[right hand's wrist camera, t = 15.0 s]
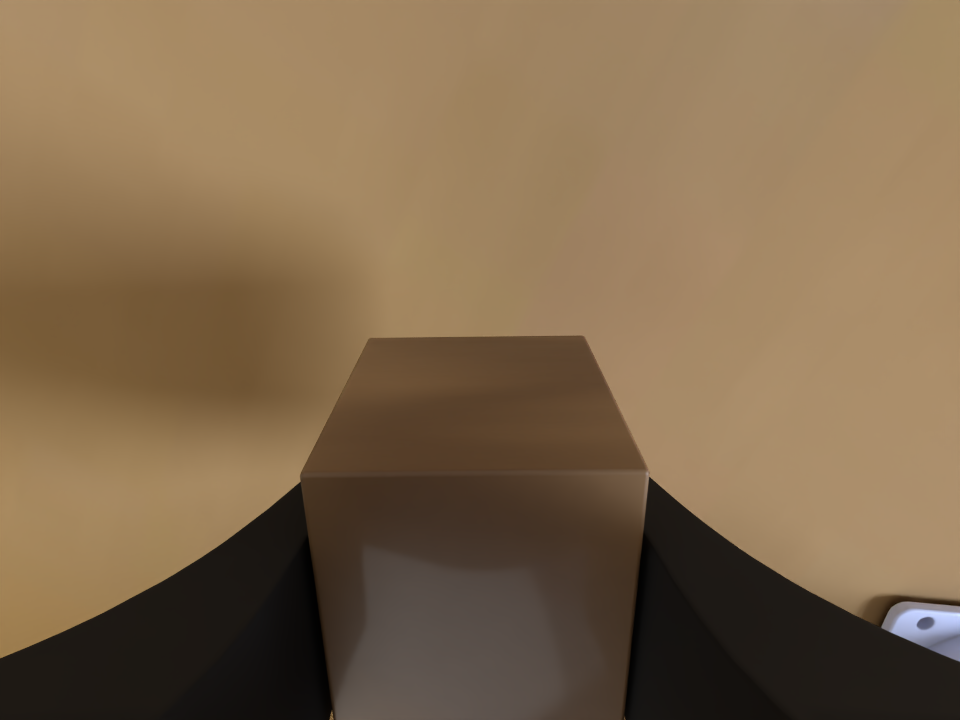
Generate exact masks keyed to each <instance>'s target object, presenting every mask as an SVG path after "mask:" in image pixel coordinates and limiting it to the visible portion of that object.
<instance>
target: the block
mask: <svg viewBox="0 0 960 720" xmlns="http://www.w3.org/2000/svg"><path fill="white" fill-rule="evenodd" d="M300 480H301V487H302V494H303V501H304V509H305V516H306V523H307V530H308V538H309V545H310V552H311V559H312V567H313V574H314V581H315V588H316V596H317V603H318V610H319V617H320V625H321V632H322V639H323V646H324V654H325V661H326V668H327V675H328V683H329V690H330V697H331V704H332V712H333V719H334V720H624V715H625V705H626V696H627V686H628V676H629V666H630V657H631V647H632V637H633V628H634V618H635V608H636V598H637V589H638V579H639V569H640V560H641V550H642V540H643V530H644V521H645V511H646V501H647V492H648V482H649V470H648V467H647V465H646V463H645V461H644V459H643V457H642V455H641V453H640V451H639V449H638V447H637V445H636V442H635V440H634V438H633V436H632V434H631V432H630V430H629V428H628V426H627V424H626V422H625V420H624V418H623V415H622V413H621V411H620V409H619V407H618V405H617V403H616V401H615V399H614V397H613V395H612V393H611V391H610V388H609V386H608V384H607V382H606V380H605V378H604V376H603V374H602V372H601V370H600V368H599V366H598V364H597V361H596V359H595V357H594V355H593V353H592V351H591V349H590V347H589V345H588V343H587V341H586V339H585V337H584V336H513V337H423V338H370V339H369V340H368V342H367V344H366V346H365V348H364V350H363V351H362V353H361V355H360V357H359V359H358V361H357V363H356V365H355V367H354V369H353V371H352V373H351V375H350V377H349V379H348V381H347V383H346V385H345V387H344V389H343V391H342V393H341V395H340V397H339V399H338V401H337V403H336V405H335V407H334V409H333V411H332V413H331V415H330V416H329V418H328V420H327V422H326V424H325V426H324V428H323V430H322V432H321V434H320V436H319V438H318V440H317V442H316V444H315V446H314V448H313V450H312V452H311V454H310V456H309V458H308V460H307V462H306V464H305V466H304V468H303V470H302V472H301V474H300Z"/></svg>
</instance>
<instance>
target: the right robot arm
mask: <svg viewBox="0 0 960 720" xmlns="http://www.w3.org/2000/svg"><path fill="white" fill-rule="evenodd" d="M331 711H332V704H331V697H330V690H329V683H328V675H327V668H326V661H325V654H324V646H323V639H322V632H321V625H320V617H319V610H318V603H317V596H316V588H315V581H314V574H313V567H312V559H311V552H310V545H309V538H308V530H307V523H306V516H305V509H304V501H303V494H302V487H301V482H300V483H299V484H297V485H296V486H295V487H294V488H293V489H291V490H290V491H289V492H288V493H287V494H286V495H284V496H283V497H282V498H281V499H280V500H278V501H277V502H276V503H275V504H274V505H272V506H271V507H270V508H269V509H268V510H266V511H265V512H264V513H262V514H261V515H260V516H258V517H257V518H256V519H254V520H253V521H252V522H250V523H249V524H248V525H246V526H245V527H244V528H242V529H241V530H240V531H239V532H237V533H236V534H235V535H233V536H232V537H231V538H229V539H228V540H227V541H225V542H224V543H222V544H221V545H219V546H218V547H217V548H215V549H214V550H212V551H211V552H209V553H208V554H206V555H205V556H203V557H202V558H200V559H198V560H197V561H195V562H194V563H192V564H190V565H189V566H187V567H185V568H184V569H182V570H181V571H179V572H177V573H176V574H174V575H173V576H171V577H169V578H167V579H166V580H164V581H162V582H160V583H159V584H157V585H155V586H153V587H151V588H149V589H147V590H145V591H144V592H142V593H140V594H138V595H136V596H134V597H132V598H130V599H129V600H127V601H125V602H123V603H121V604H119V605H117V606H115V607H114V608H112V609H110V610H108V611H106V612H104V613H102V614H100V615H98V616H96V617H94V618H92V619H90V620H87V621H85V622H83V623H81V624H79V625H77V626H75V627H72V628H70V629H68V630H66V631H64V632H62V633H59V634H57V635H55V636H52V637H50V638H48V639H46V640H43V641H41V642H39V643H36V644H34V645H32V646H29V647H27V648H25V649H22V650H20V651H17V652H15V653H13V654H10V655H8V656H5V657H3V658H0V720H329V719H330V715H331ZM625 719H626V720H960V606H951V605H940V604H930V603H919V602H900V603H897V604H895V605H894V606H893V607H891V609H890V610H889V611H888V613H887V616H886V618H885V620H884V622H883V624H882V626H881V628H880V627H878V626H876V625H874V624H872V623H870V622H868V621H865V620H863V619H861V618H859V617H857V616H855V615H853V614H851V613H849V612H847V611H845V610H843V609H841V608H840V607H838V606H836V605H834V604H832V603H830V602H828V601H826V600H824V599H822V598H820V597H818V596H817V595H815V594H813V593H811V592H809V591H807V590H806V589H804V588H802V587H800V586H799V585H797V584H795V583H793V582H791V581H790V580H788V579H786V578H785V577H783V576H782V575H780V574H778V573H777V572H775V571H774V570H772V569H770V568H769V567H767V566H765V565H764V564H762V563H761V562H759V561H757V560H756V559H754V558H753V557H751V556H750V555H748V554H747V553H745V552H744V551H742V550H741V549H739V548H738V547H736V546H735V545H734V544H732V543H731V542H729V541H728V540H727V539H725V538H724V537H723V536H721V535H720V534H719V533H717V532H716V531H714V530H713V529H712V528H710V527H709V526H708V525H706V524H705V523H704V522H703V521H701V520H700V519H699V518H697V517H696V516H695V515H694V514H692V513H691V512H690V511H689V510H687V509H686V508H685V507H684V506H683V505H681V504H680V503H679V502H678V501H677V500H675V499H674V498H673V497H672V496H671V495H670V494H668V493H667V492H666V491H665V490H664V489H663V488H661V487H660V486H659V485H658V484H657V483H656V482H655V481H654V480H652V479H651V478H650V477H649V482H648V492H647V501H646V511H645V521H644V530H643V540H642V550H641V560H640V569H639V579H638V589H637V598H636V608H635V618H634V628H633V637H632V647H631V657H630V666H629V676H628V686H627V696H626V705H625Z"/></svg>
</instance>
